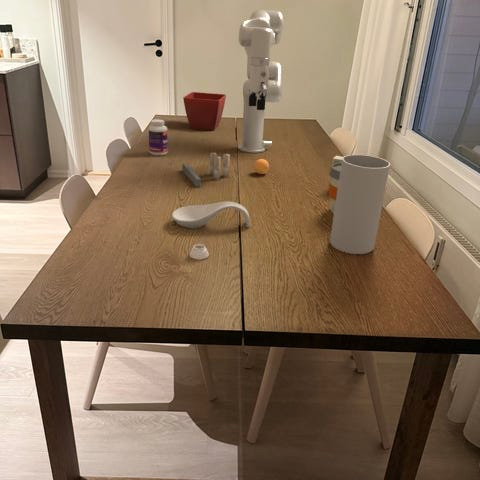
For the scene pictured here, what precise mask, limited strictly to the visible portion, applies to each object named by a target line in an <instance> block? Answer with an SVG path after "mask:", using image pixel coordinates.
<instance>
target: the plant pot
mask: <svg viewBox="0 0 480 480" xmlns="http://www.w3.org/2000/svg"><path fill="white" fill-rule="evenodd" d="M226 95H227V94H224V93H209V92H199V91H198V92H197V91H191V92H190V93H188V94H186V95H185V96H183V104H184V110H185V114H186V117H187V118H186V119H187V121H188V124H189V127H190V129H191V130H198V129H202V130H201V131H210V132H211V131H212V132H213V131H215V130H216V129H217V128H218V127H219V125H220V123H221V119H222V117H223V113H224V108H225V103H226V98H227V96H226Z"/></svg>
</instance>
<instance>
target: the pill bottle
mask: <svg viewBox="0 0 480 480" xmlns="http://www.w3.org/2000/svg"><path fill="white" fill-rule="evenodd" d="M150 121H151V123H150V124H151V125H150V126H148V152H149V154H150V155H152V156H159V157H160V156H165V155H167V154H168V152H169V150H168V139H169V138H168V137H169V136H168V132H169V131H168V126H166V125H165V120H163V119H151V120H150Z"/></svg>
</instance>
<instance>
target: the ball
mask: <svg viewBox="0 0 480 480" xmlns="http://www.w3.org/2000/svg"><path fill="white" fill-rule="evenodd" d="M253 169H254V171H255V173H257V174H258V175H265V174H266V173H267V172H268V171H269V170H270V164H269V162H268V160H266V159H264V158H259V159H256V161H255V162H254V164H253Z"/></svg>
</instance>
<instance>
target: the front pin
mask: <svg viewBox="0 0 480 480" xmlns="http://www.w3.org/2000/svg"><path fill="white" fill-rule="evenodd" d="M222 156H223V158H222V159H223V161H222V177H224V178H229V177H230V161H231V160H230V159H231V157H230V156H231V155H230V153H229V154H228V153H224V154H223V155H222Z"/></svg>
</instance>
